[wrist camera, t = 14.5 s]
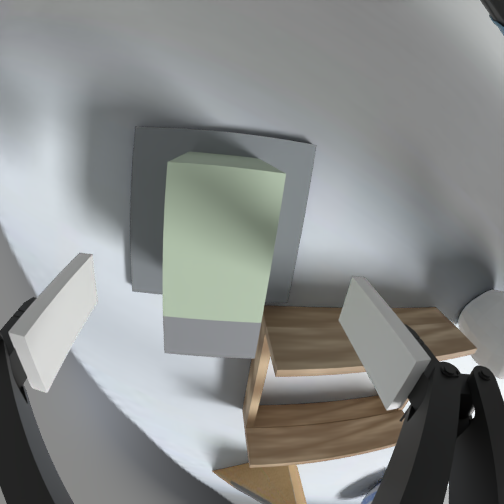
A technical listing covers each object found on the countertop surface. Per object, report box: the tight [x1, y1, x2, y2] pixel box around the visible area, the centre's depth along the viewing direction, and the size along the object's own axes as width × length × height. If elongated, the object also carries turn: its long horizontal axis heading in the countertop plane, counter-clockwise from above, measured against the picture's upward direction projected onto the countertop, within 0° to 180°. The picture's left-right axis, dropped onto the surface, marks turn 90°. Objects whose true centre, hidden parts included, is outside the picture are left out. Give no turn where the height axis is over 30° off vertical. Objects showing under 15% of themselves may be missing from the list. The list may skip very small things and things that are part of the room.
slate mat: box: [130, 127, 316, 303], centre depth 27 cm, size 16×16×1 cm
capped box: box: [163, 152, 286, 359], centre depth 22 cm, size 12×6×11 cm, turn 173°
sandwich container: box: [212, 463, 306, 504], centre depth 40 cm, size 9×15×15 cm, turn 112°
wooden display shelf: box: [242, 305, 477, 468], centre depth 32 cm, size 18×25×10 cm
